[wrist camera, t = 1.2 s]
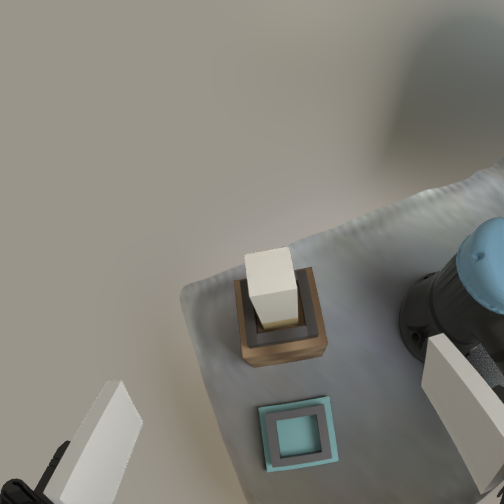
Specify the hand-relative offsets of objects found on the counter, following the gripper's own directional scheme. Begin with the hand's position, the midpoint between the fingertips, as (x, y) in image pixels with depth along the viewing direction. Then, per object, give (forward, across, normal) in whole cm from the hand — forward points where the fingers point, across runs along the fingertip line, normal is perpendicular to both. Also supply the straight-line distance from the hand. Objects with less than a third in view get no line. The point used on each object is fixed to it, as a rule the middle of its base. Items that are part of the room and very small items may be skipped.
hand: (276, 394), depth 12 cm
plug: (+24, 0, -9) cm, 26 cm away
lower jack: (+20, 0, -27) cm, 34 cm away
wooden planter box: (+31, 0, -16) cm, 35 cm away
